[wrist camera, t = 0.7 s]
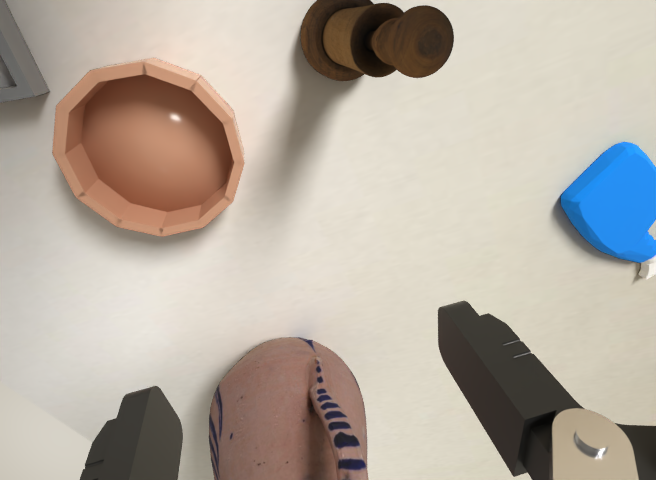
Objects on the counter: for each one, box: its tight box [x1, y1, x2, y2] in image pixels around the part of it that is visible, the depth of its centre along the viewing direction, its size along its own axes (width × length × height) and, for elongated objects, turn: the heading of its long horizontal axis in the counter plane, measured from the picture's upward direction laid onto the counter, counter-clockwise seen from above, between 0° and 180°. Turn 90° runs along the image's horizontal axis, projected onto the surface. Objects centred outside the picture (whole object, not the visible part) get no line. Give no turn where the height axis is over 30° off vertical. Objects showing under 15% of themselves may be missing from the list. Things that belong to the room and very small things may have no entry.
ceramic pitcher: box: [209, 337, 368, 480], centre depth 38 cm, size 18×21×25 cm
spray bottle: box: [561, 142, 656, 280], centre depth 49 cm, size 3×11×24 cm
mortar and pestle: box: [301, 0, 454, 81], centre depth 24 cm, size 7×6×18 cm
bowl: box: [52, 58, 244, 237], centre depth 31 cm, size 14×14×4 cm
